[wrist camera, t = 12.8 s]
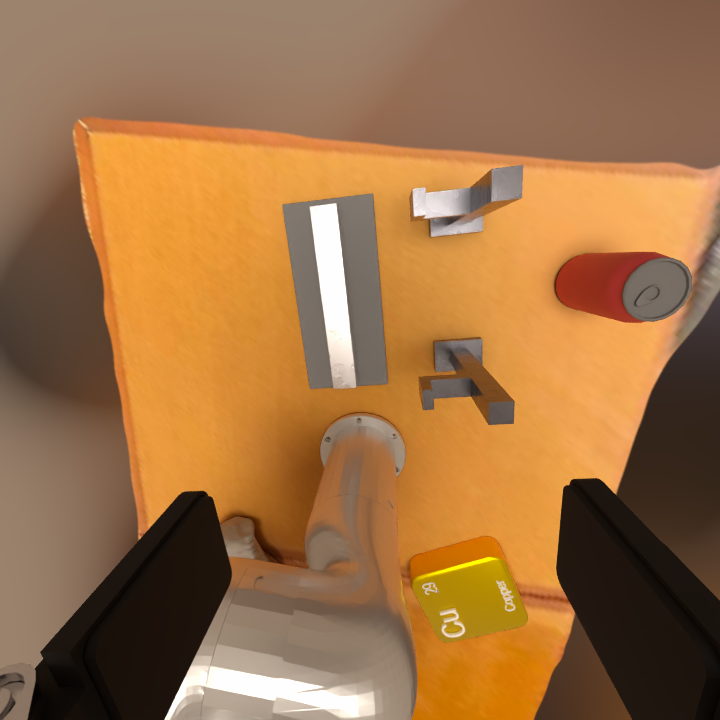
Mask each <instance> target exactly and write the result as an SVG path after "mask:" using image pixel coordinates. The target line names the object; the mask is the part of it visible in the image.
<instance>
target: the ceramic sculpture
mask: <svg viewBox="0 0 720 720" xmlns="http://www.w3.org/2000/svg"><path fill="white" fill-rule="evenodd" d="M220 527H221V531H222V534H223V538H224V542H225V546H226V550H227V553H228V557H241V558H248V559H254V560H261V561H266V562H272V563H277V564H278V562H277V561H276V560H275V559H274V558H273V557H271V556H270V555H269V554H267V553H266V552H264V551H263V550H262V549H261V547H260V545H259V543H258V542H257V540H256V538H255V537H254V530H255V527H254V524H253V521H252V520H251V519H248V518H244V517H240V516H236V517H234V518H232V519H230V520H227V521H225V522H223V523H222V524H221V525H220Z"/></svg>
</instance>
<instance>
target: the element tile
mask: <svg viewBox="0 0 720 720" xmlns="http://www.w3.org/2000/svg"><path fill="white" fill-rule="evenodd" d="M410 578H411V587H412V590H413V592H414V593H415V595H416V597H417V599H418V601H419V603H420V605H421V607H422V609H423V611H424V613H425V615H426V617H427V619H428V621H429V623H430V624H431V626H432V628H433V630H434V632H435V634H436V636H437V637H438V638H439V639H440V640H441V641H443V642H446V643H447V642H456V641H460V640H465V639H469V638H474V637H478V636H483V635H487V634H492V633H496V632H501V631H506V630H510V629H515V628H519V627H522V626H524V625H525V624H526V623H527V621H528V614H527V611H526V609H525V606H524V604H523V601H522V599H521V596H520V594H519V591H518V589H517V586H516V584H515V581H514V579H513V577H512V574H511V572H510V569H509V567H508V564H507V562H506V560H505V557H504V555H503V552H502V550H501V547H500V545H499V543H498V542H497V541H496V540H495V539H494V538H492V537H488V536H484V537H479V538H475V539H472V540H468V541H464V542H461V543H457V544H454V545H450V546H447V547H443V548H439V549H436V550H432V551H429V552H425V553H421V554H418V555H415V556H414V557H412V558H411V560H410Z"/></svg>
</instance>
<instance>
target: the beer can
mask: <svg viewBox="0 0 720 720" xmlns="http://www.w3.org/2000/svg"><path fill="white" fill-rule="evenodd" d="M691 288H692V276H691V274H690V271H689V269H688V267H687V266H686V265H684V264H683V263H682V262H681V261H679V260H676V259H674V258H670V257H667V256H665V255H662V254H659V253H656V252H625V253H591V254H583V255H580V256H576V257H575V258H573V259H572V260H570V261H568V262H567V264H566V265H565V266H564V267H563V268H562V269H561V271H560V273H559V275H558V277H557V281H556V292H557V295H558V297H559V299H560V301H561V302H562V303H564V304H565V305H566V306H567V307H570V308H573V309H576V310H580V311H584V312H587V313H591V314H595V315H599V316H603V317H606V318H610V319H614V320H618V321H622V322H629V323H642V322H646V321H652V322H654V321H658V320H662V319H665V318H667V317H669V316H671V315H672V314H674V313H675V312H676V311H678V310H679V309H680V308H681V307H682V306H683V305H684V303H685V302H686V300H687V299H688V297H689V294H690V291H691Z"/></svg>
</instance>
